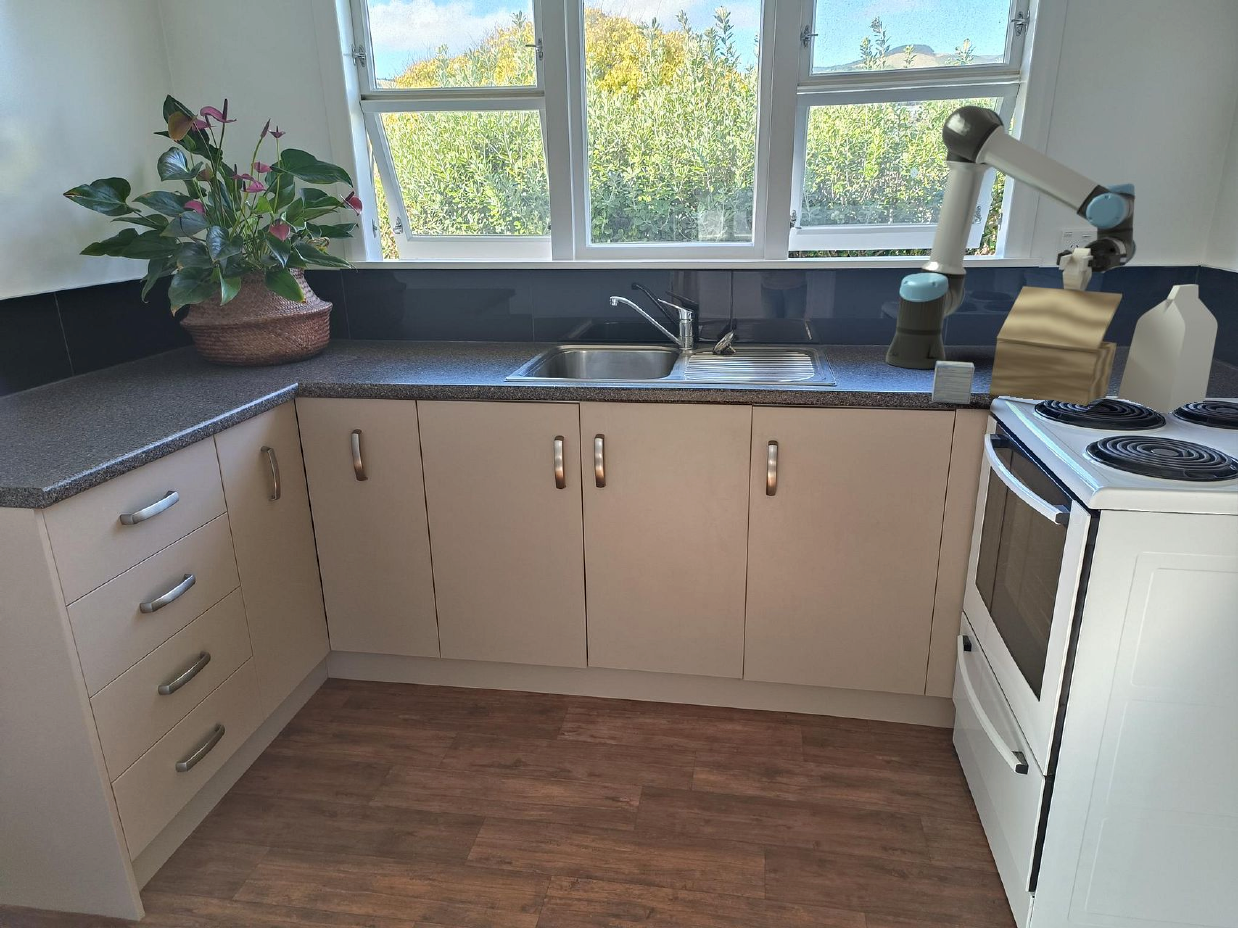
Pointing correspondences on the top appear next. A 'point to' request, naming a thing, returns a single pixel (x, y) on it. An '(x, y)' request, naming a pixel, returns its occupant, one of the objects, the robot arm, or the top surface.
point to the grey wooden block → (953, 382)
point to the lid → (1062, 312)
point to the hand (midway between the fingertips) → (1071, 264)
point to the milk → (1171, 353)
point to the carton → (1051, 372)
